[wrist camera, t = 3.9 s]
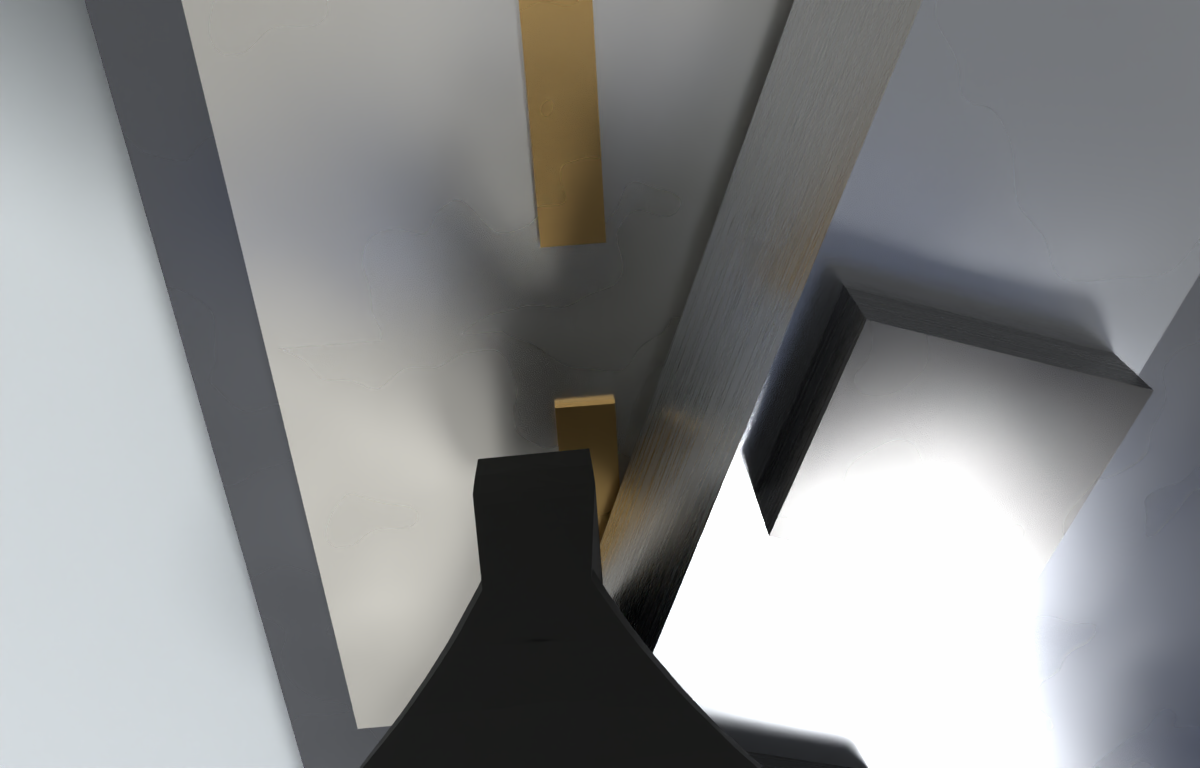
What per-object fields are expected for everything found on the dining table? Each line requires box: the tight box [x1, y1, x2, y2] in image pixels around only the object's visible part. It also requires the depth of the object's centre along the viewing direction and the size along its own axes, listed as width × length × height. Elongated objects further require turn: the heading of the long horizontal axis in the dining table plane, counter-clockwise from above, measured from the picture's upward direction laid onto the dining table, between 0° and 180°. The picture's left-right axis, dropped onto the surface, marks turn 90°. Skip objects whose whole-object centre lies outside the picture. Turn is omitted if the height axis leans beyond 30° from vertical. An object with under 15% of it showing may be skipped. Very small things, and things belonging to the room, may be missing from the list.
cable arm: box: [600, 0, 1200, 768], centre depth 11 cm, size 16×4×4 cm, turn 164°
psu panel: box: [85, 0, 1200, 768], centre depth 14 cm, size 17×20×1 cm
